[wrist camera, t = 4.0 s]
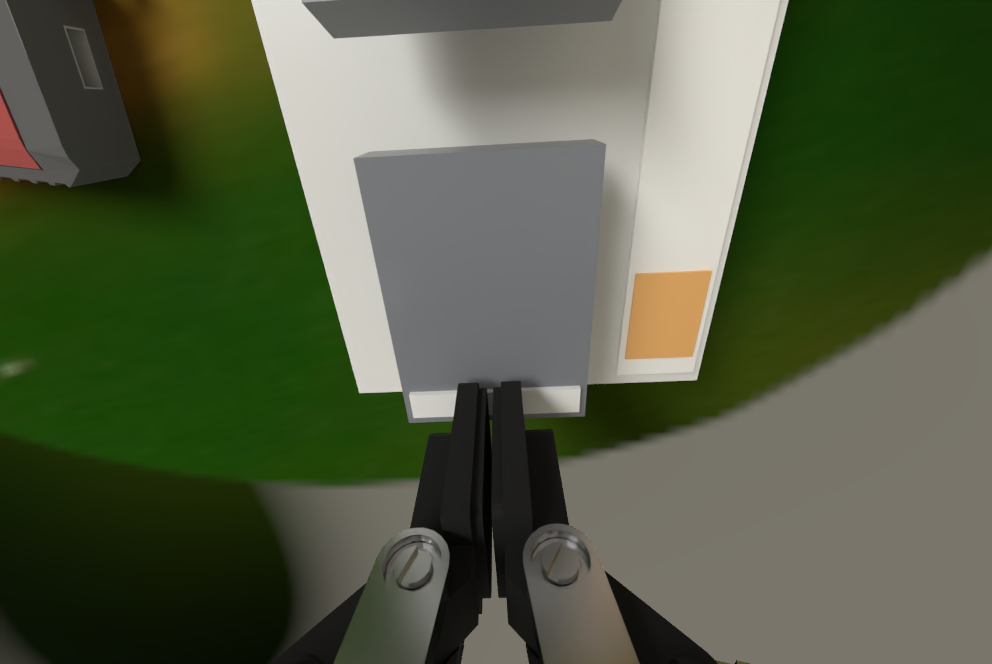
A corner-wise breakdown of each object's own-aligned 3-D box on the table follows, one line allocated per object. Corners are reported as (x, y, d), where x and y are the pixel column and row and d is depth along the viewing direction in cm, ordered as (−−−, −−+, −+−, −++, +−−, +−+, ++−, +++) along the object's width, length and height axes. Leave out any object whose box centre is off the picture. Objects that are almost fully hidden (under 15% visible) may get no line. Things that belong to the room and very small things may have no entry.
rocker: (369, 151, 9) (350, 158, 8) (593, 138, 9) (607, 145, 8) (416, 396, 13) (407, 426, 11) (577, 390, 12) (585, 420, 11)
